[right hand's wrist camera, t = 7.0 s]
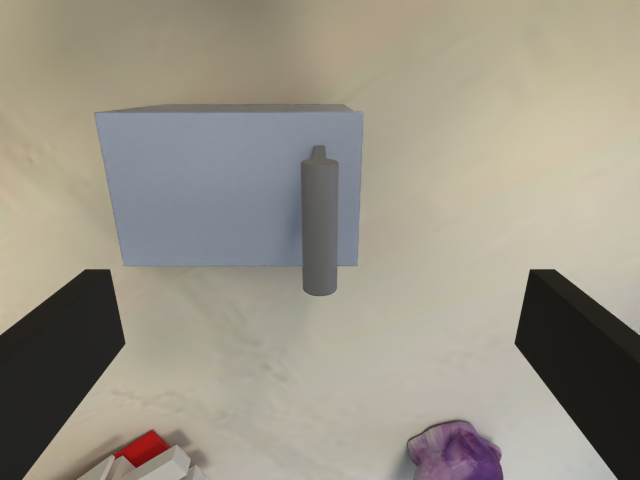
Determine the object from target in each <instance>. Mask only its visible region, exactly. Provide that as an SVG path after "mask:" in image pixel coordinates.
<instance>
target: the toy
mask: <svg viewBox="0 0 640 480" xmlns="http://www.w3.org/2000/svg"><path fill="white" fill-rule="evenodd" d="M190 461H191V459H190V458H189V457H188V456H187V455H186V453H185V452H184V451H183V450H182V449H181V448H180V447H179V446H178V445H177V444H176V445H175V446H173V447H171V448H170V447H169V446H168V445H167V444H166V443H165V442H164V441H163V440H162V439H161V438H160V437H159V436H158V435H157V434H156V433H155V432H154V431H153V430H152V431H150V432H149V433H147V434H146V435H144V436H143V437H141V438H139V439H138V440H136V441H135V442H133V443H132V444H130V445H129V446H127V447H126V448H124V449H122V450H121V451H119V452H118V453H116V454H115V455H110V456H109V457H108V458H106V459H105V460H103V461H102V462H101V463H99V464H98V465H97V466H95V467H94V468H92V469H91V470H90V471H88V472H87V473H85V474H84V475H82V476H81V477H79V478H78V479H76V480H209V478H208V477H207V476H206V474H205V473H204V472H203V471H202V470H201V469H200V468H199V467H198V466H197V465H194V466H193V467H191V468H190V467H189V465H190Z"/></svg>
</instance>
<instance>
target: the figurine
mask: <svg viewBox="0 0 640 480" xmlns="http://www.w3.org/2000/svg"><path fill="white" fill-rule="evenodd" d="M408 449H409V454H410V458H411V459H412V461H413V462H414V463H415V465H416V466H417V469H416V471H415V475H414V480H503V473H502V468H501V465H500V462H499V461H500V459H501V457H502V451H501V449H500V448H499V447H498V446H497V445H495V444H494V443H492V442H490V441H487V440H485V439H483V438H480V437H479V436H478V435H477V433H476V431H475V429H474V427H473V426H472V425H471V424H469V423H466V422H462V421H456V422H452V423H447V424H442V425H438V426H435V427H431V428H430V429H428V430H427V431H425V432H424V433H423V434H422V435H420V436H417V437H415V438H413V439H412V440H410V441H409V442H408Z"/></svg>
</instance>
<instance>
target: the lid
mask: <svg viewBox="0 0 640 480" xmlns="http://www.w3.org/2000/svg"><path fill="white" fill-rule="evenodd" d="M94 114H95V119H96V125H97V130H98V135H99V140H100V145H101V150H102V155H103V161H104V166H105V171H106V176H107V181H108V186H109V192H110V197H111V202H112V207H113V212H114V217H115V222H116V228H117V233H118V238H119V243H120V248H121V253H122V258H123V264H124V266H303V289H304V291H305V292H306V293H308V294H310V295H314V296H326V295H330V294H332V293H334V292H335V291H336V289H337V266H357V265H358V239H359V212H360V185H361V158H362V131H363V113H362V112H95V113H94Z"/></svg>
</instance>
